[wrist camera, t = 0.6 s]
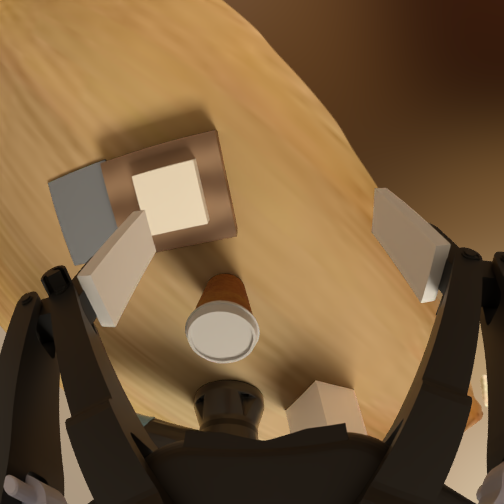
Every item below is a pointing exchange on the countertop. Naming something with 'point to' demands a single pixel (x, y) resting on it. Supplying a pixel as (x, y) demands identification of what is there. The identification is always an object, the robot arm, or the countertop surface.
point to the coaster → (172, 197)
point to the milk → (326, 409)
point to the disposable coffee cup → (223, 322)
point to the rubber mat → (83, 211)
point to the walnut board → (166, 154)
